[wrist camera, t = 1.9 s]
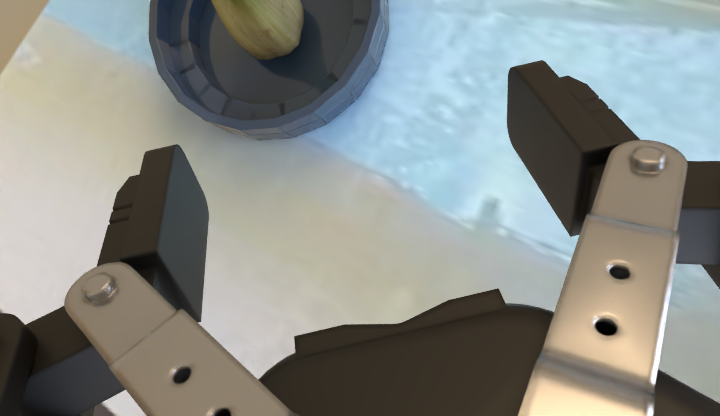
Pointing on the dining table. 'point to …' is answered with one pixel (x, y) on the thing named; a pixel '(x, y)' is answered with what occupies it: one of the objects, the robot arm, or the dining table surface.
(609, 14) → the dining table surface
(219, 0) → the fennel bulb
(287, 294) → the dining table surface
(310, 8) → the bowl
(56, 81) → the dining table surface
